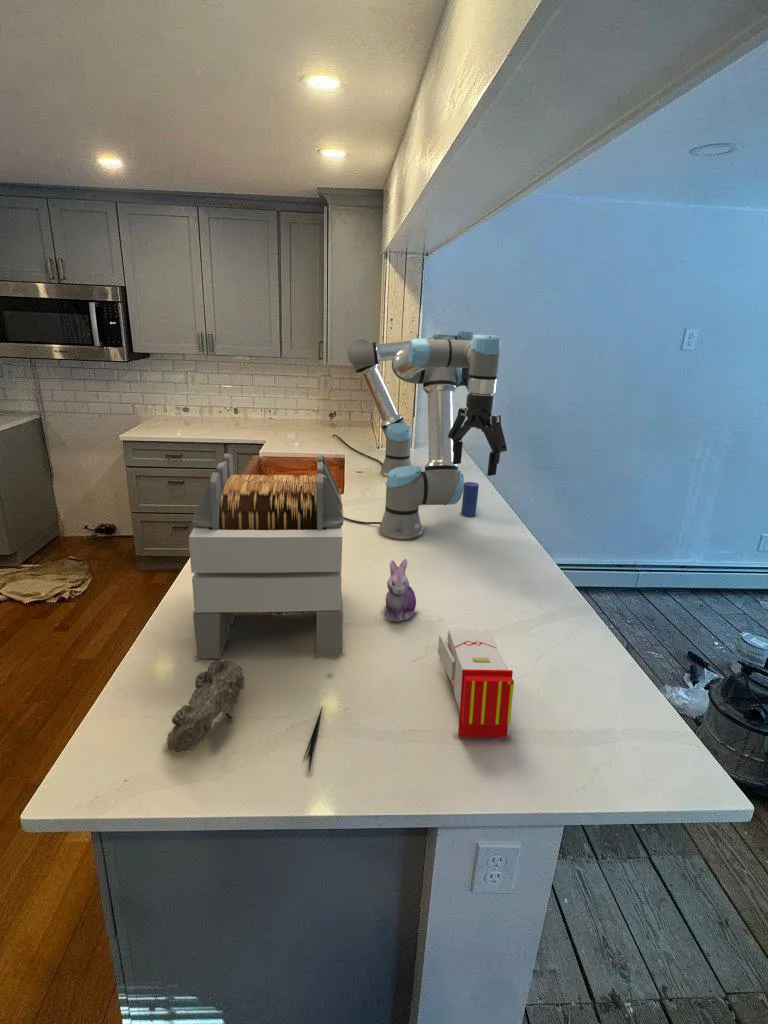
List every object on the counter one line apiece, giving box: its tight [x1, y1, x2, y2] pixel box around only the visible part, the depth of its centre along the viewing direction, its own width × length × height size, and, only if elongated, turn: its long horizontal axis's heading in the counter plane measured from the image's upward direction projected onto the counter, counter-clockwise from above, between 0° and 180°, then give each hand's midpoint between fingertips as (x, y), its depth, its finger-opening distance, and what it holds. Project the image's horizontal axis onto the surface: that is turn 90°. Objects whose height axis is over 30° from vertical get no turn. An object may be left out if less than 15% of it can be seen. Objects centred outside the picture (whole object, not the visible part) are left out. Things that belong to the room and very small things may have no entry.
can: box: [460, 481, 480, 518], centre depth 220 cm, size 6×6×13 cm
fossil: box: [166, 658, 245, 754], centre depth 106 cm, size 22×10×15 cm
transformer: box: [188, 452, 345, 660], centre depth 135 cm, size 34×33×41 cm
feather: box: [301, 673, 332, 771], centre depth 108 cm, size 2×28×2 cm
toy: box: [437, 628, 515, 738], centre depth 117 cm, size 12×13×30 cm
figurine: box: [384, 558, 417, 623], centre depth 145 cm, size 9×10×15 cm
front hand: (473, 469), depth 162 cm, fingers open, 13 cm apart
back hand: (459, 410), depth 275 cm, fingers open, 13 cm apart
